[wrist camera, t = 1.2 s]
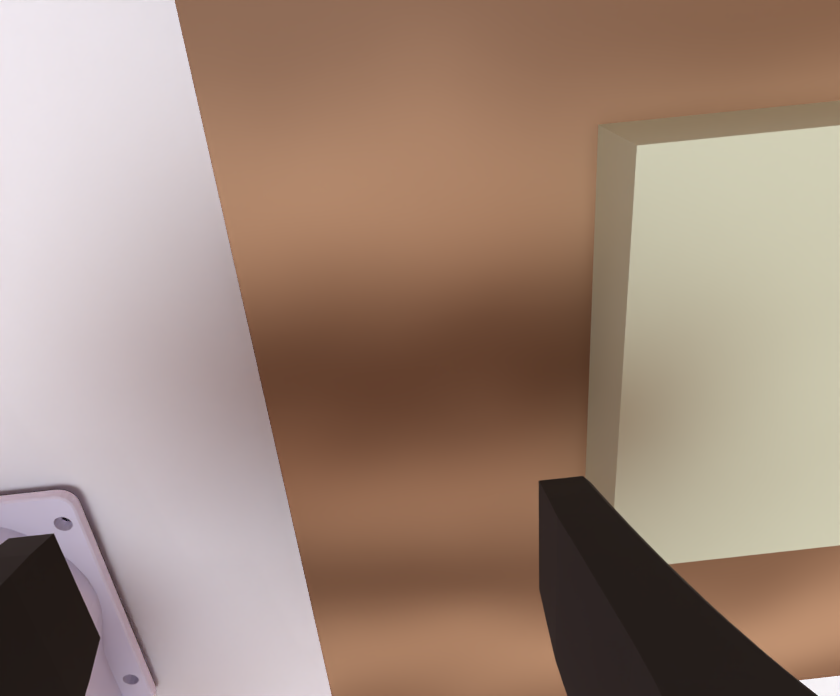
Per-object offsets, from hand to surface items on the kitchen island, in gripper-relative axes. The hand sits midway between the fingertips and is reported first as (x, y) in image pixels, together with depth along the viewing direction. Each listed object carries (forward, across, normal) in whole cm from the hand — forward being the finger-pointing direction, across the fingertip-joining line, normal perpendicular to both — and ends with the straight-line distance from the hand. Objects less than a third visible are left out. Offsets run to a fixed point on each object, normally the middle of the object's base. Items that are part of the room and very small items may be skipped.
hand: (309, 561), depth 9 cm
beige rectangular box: (+5, -8, 0) cm, 10 cm away
